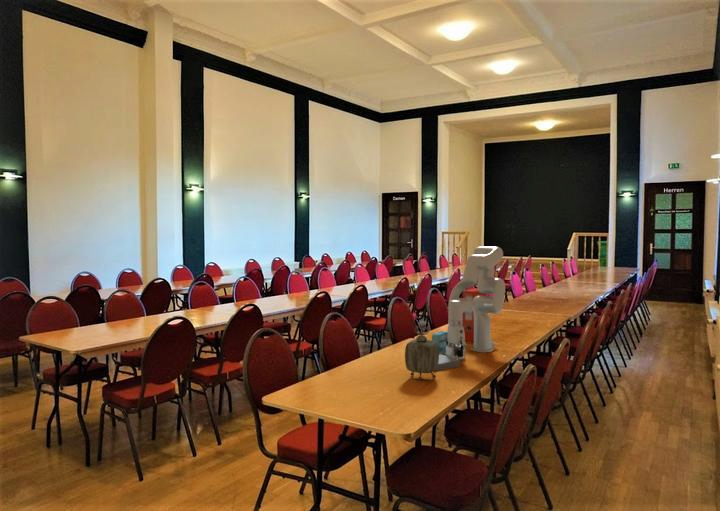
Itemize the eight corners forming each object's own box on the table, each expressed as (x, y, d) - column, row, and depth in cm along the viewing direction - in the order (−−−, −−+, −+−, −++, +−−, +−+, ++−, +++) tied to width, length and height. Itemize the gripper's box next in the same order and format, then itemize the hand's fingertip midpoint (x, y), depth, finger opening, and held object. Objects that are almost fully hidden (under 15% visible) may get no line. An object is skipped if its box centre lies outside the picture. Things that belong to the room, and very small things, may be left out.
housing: (459, 356, 288) (459, 342, 288) (464, 358, 284) (465, 344, 283) (445, 358, 284) (445, 344, 283) (451, 360, 279) (451, 346, 279)
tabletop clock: (438, 377, 247) (438, 325, 246) (433, 383, 239) (433, 328, 238) (409, 374, 253) (409, 323, 252) (403, 379, 245) (403, 326, 244)
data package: (438, 356, 289) (438, 335, 288) (431, 355, 292) (431, 334, 291) (449, 352, 298) (449, 331, 298) (442, 351, 301) (442, 330, 301)
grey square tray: (441, 359, 282) (441, 354, 282) (460, 366, 268) (460, 360, 267) (416, 363, 274) (416, 357, 274) (435, 370, 260) (435, 364, 260)
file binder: (486, 338, 334) (486, 288, 333) (474, 343, 321) (474, 291, 319) (474, 337, 339) (474, 288, 338) (462, 341, 326) (462, 290, 324)
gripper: (471, 324, 277) (471, 357, 278) (450, 320, 292) (450, 351, 293) (460, 326, 273) (460, 359, 274) (440, 321, 289) (440, 352, 289)
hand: (455, 355), depth 284 cm, fingers open, 7 cm apart
